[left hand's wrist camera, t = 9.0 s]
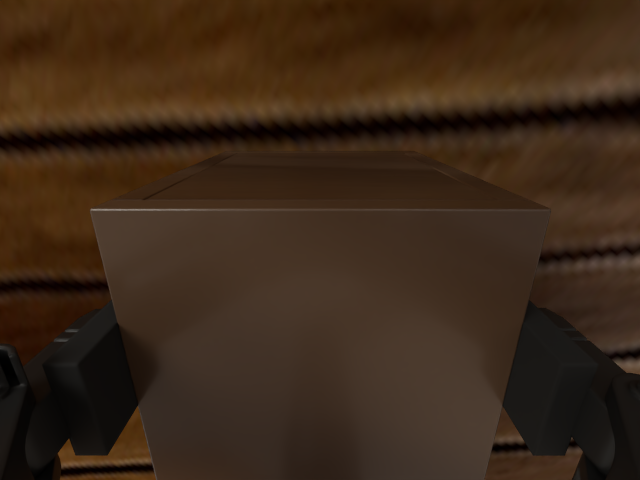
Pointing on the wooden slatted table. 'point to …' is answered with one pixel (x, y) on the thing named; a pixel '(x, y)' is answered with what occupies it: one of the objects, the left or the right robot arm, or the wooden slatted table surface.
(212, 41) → the wooden slatted table surface
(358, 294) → the cabinet
